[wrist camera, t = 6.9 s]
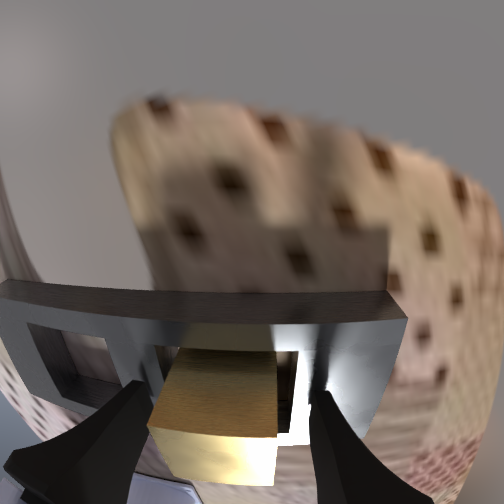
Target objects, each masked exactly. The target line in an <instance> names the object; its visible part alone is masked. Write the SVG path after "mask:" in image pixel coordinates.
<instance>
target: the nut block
mask: <svg viewBox="0 0 504 504" xmlns="http://www.w3.org/2000/svg"><path fill="white" fill-rule="evenodd" d="M147 427H148V429H149V431H150V433H151V435H152V437H153V439H154V441H155V443H156V445H157V447H158V449H159V451H160V453H161V455H162V456H163V458H164V460H165V462H166V464H167V465H168V467H169V469H170V471H171V472H172V474H173V476H174V477H180V478H185V479H192V480H198V481H206V482H214V483H224V484H237V485H260V486H273V479H274V470H275V460H276V450H277V439H278V426H277V359H276V351H234V350H212V349H196V348H183V347H180V348H179V350H178V353H177V355H176V357H175V360H174V362H173V364H172V366H171V369H170V371H169V373H168V376H167V378H166V380H165V383H164V385H163V387H162V390H161V392H160V395H159V397H158V399H157V402H156V404H155V406H154V409H153V411H152V414H151V416H150V418H149V421H148V423H147Z"/></svg>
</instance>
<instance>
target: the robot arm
mask: <svg viewBox="0 0 504 504" xmlns="http://www.w3.org/2000/svg"><path fill="white" fill-rule="evenodd" d="M153 409H154V406H153V403H152V400H151V398H150V395H149V392H148V389H147V387H146V384H145V382H144V381H138V380H132V381H131V382H129V383H128V384H127V385H126V386H125V387H124V388H123V389H122V390H121V391H119V392H118V393H117V394H116V395H115V396H114V397H113V398H112V399H110V400H109V401H108V402H107V403H106V404H105V405H103V406H102V407H101V408H100V409H99V410H97V411H96V412H95V413H94V414H92V415H91V416H90V417H88V418H87V419H86V420H84V421H83V422H81V423H80V424H78V425H77V426H75V427H73V428H72V429H70V430H68V431H67V432H65V433H63V434H61V435H59V436H57V437H54V438H52V439H50V440H48V441H45V442H42V443H40V444H37V445H34V446H30V447H26V448H22V449H17V450H14V451H13V452H12V453H11V455H10V456H9V458H8V460H7V461H6V463H5V464H4V466H3V467H4V470H5V471H6V472H7V473H8V474H9V475H10V476H11V477H12V478H14V479H15V480H16V481H17V482H18V483H20V484H21V485H22V486H23V487H24V488H25V489H24V491H22V490H20V489H19V488H18V487H16V486H15V485H14V484H12V483H11V482H10V481H8V480H7V479H6V478H3V479H2V481H1V483H0V504H202V502H201V500H200V498H199V497H198V495H197V493H196V491H195V489H194V487H193V486H191V485H188V484H182V483H176V482H171V481H166V480H162V479H157V478H153V477H149V476H145V475H141V474H137V473H134V470H135V467H136V464H137V462H138V459H139V457H140V454H141V452H142V449H143V447H144V445H145V442H146V440H147V437H148V435H149V432H150V431H149V429H148V427H147V423H148V421H149V418H150V416H151V414H152V411H153ZM308 425H309V441H310V447H311V453H312V459H313V465H314V470H315V476H316V483H317V499H318V504H434V502H433V500H432V498H431V497H429V496H427V495H425V494H423V493H421V492H420V491H418V490H416V489H415V488H413V487H412V486H410V485H409V484H407V483H406V482H404V481H403V480H402V479H400V478H399V477H398V476H396V475H395V474H394V473H393V472H392V471H390V470H389V469H388V468H387V467H386V466H385V465H383V464H382V463H381V462H380V461H379V460H378V459H377V458H376V457H375V456H374V455H373V454H372V452H371V451H370V450H369V449H368V448H367V447H366V446H365V444H364V443H363V442H362V441H361V439H360V438H359V437H358V436H357V434H356V433H355V432H354V430H353V429H352V427H351V426H350V424H349V423H348V422H347V420H346V419H345V417H344V415H343V414H342V412H341V410H340V409H339V407H338V405H337V404H336V402H335V400H334V398H333V396H332V394H331V392H330V391H329V390H321V391H314V392H313V398H312V403H311V408H310V413H309V418H308Z"/></svg>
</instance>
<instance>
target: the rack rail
mask: <svg viewBox="0 0 504 504" xmlns="http://www.w3.org/2000/svg"><path fill="white" fill-rule="evenodd" d="M407 321H408V317H407V316H406V315H405V313H404V312H403V311H402V309H401V308H400V307H399V306H398V304H397V303H396V302H395V300H394V299H393V298H392V297H391V295H390V294H389V293H388V292H387V291H370V292H340V293H203V292H172V291H149V290H129V289H113V288H98V287H84V286H72V285H61V284H50V283H39V282H30V281H20V280H12V279H7V280H5V281H3V282H2V283H0V337H1V339H2V341H3V343H4V346H5V348H6V350H7V352H8V354H9V356H10V358H11V360H12V362H13V364H14V366H15V368H16V370H17V371H18V373H19V375H20V377H21V379H22V381H23V382H24V384H25V386H26V387H27V389H28V391H29V392H30V393H31V394H33V395H35V396H37V397H40V398H42V399H44V400H46V401H49V402H51V403H54V404H56V405H59V406H61V407H64V408H66V409H69V410H72V411H74V412H77V413H80V414H83V415H86V416H89V417H90V416H91V415H92V414H94V413H95V412H96V411H97V410H99V409H100V408H101V407H102V406H103V405H105V404H106V403H107V402H108V401H109V400H110V399H112V398H113V397H114V396H115V395H116V394H117V393H118V392H119V391H121V390H122V389H123V388H124V387H125V386H126V385H127V384H128V383H129V382H131V381H132V380H138V381H144V382H145V384H146V387H147V389H148V392H149V395H150V398H151V400H152V403H153V406H155V404H156V402H157V399H158V397H159V395H160V392H161V390H162V387H163V385H164V383H165V380H166V378H167V376H168V373H169V371H170V369H171V366H172V364H173V362H174V360H175V357H176V355H177V353H178V347H183V348H196V349H212V350H234V351H292V359H291V371H290V382H289V393H288V400H277V426H278V439H277V445H302V444H310V441H309V425H308V418H309V413H310V408H311V403H312V398H313V392H314V391H321V390H329V391H330V392H331V394H332V396H333V398H334V400H335V402H336V404H337V405H338V407H339V409H340V410H341V412H342V414H343V415H344V417H345V419H346V420H347V422H348V423H349V424H350V426H351V427H352V429H353V430H354V432H355V433H356V434H357V436H358V437H359V438H360V439H361V438H364V437H365V435H366V432H367V430H368V428H369V426H370V424H371V422H372V420H373V417H374V415H375V413H376V410H377V408H378V406H379V403H380V401H381V398H382V396H383V393H384V391H385V388H386V386H387V383H388V380H389V378H390V375H391V372H392V369H393V366H394V364H395V361H396V358H397V355H398V351H399V348H400V345H401V342H402V338H403V335H404V332H405V328H406V324H407ZM60 330H63V331H68V332H73V333H78V334H84V335H89V336H95V337H101V338H105V341H106V344H107V347H108V350H109V353H110V356H111V358H112V361H113V364H114V366H115V369H116V372H117V374H118V377H119V379H120V382H121V384H122V385H118V384H114V383H109V382H105V381H101V380H97V379H93V378H89V377H85V376H81V375H78V373H77V371H76V368H75V366H74V364H73V362H72V359H71V357H70V355H69V352H68V350H67V348H66V345H65V343H64V340H63V338H62V335H61V332H60ZM149 433H150V432H149Z"/></svg>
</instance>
